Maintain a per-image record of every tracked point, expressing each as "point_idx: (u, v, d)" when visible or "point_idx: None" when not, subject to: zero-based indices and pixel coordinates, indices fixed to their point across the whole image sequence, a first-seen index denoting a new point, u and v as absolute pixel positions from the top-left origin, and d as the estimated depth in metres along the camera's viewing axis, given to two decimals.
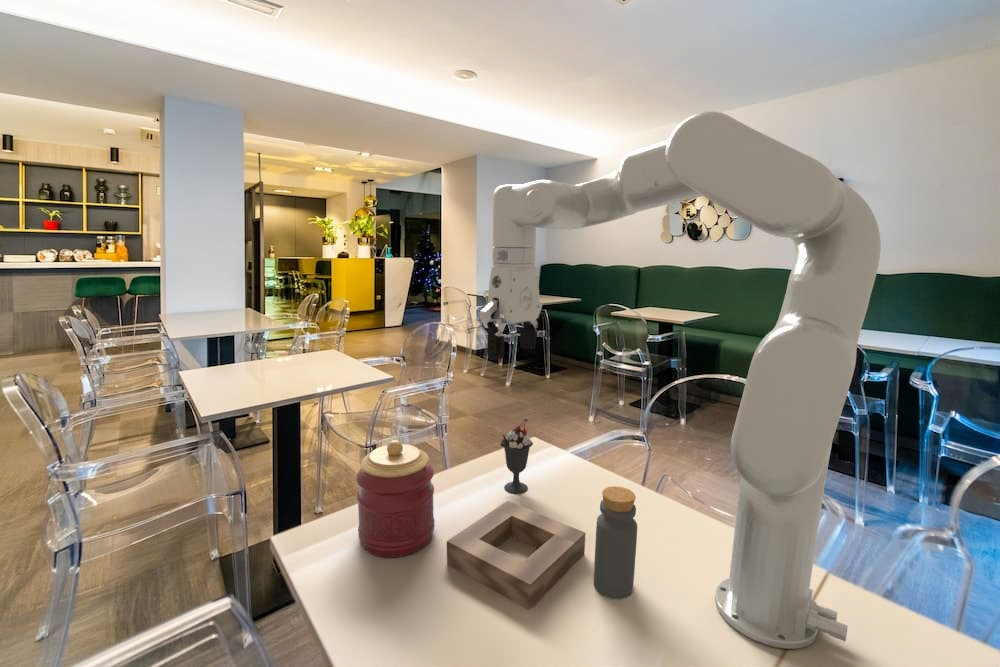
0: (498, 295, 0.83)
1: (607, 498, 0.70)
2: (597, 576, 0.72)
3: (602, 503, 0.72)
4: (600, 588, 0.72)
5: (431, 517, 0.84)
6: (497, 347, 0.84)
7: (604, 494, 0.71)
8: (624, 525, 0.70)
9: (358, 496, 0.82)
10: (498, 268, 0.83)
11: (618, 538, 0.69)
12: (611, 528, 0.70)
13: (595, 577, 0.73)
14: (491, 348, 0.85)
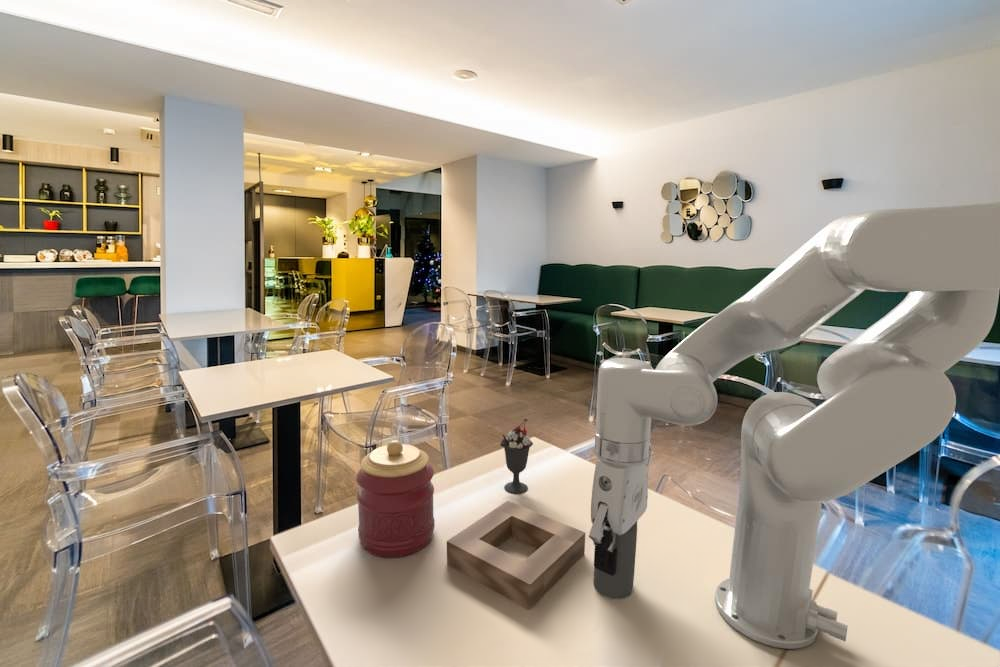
0: (606, 504, 0.67)
1: None
2: (596, 576, 0.72)
3: None
4: (600, 588, 0.72)
5: (431, 517, 0.84)
6: (609, 562, 0.69)
7: None
8: None
9: (358, 496, 0.82)
10: (607, 467, 0.67)
11: (617, 538, 0.69)
12: None
13: (595, 577, 0.73)
14: (601, 562, 0.69)
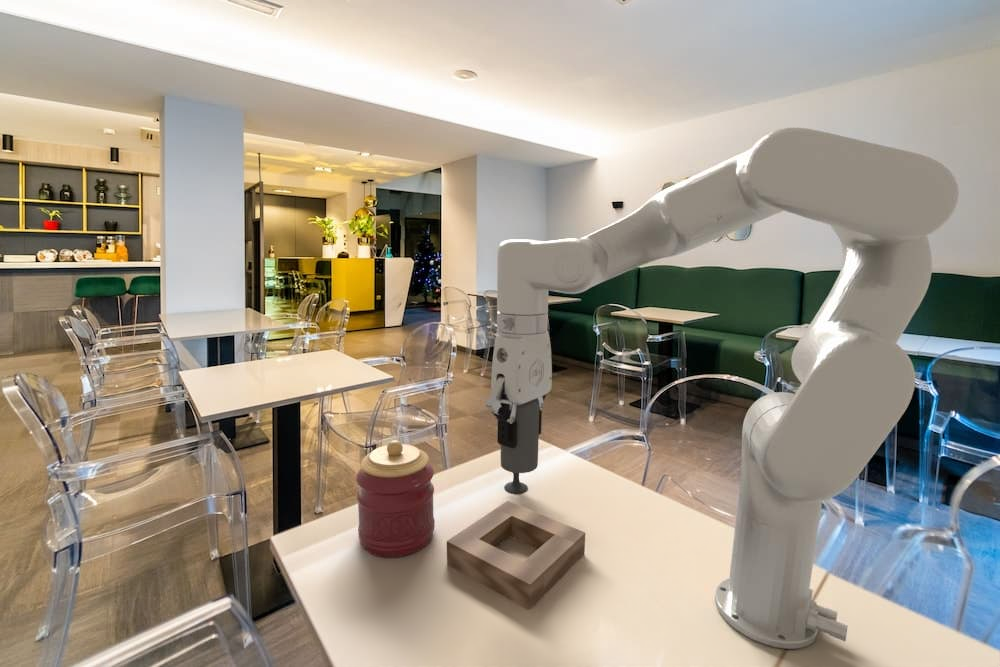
0: (503, 375, 0.69)
1: None
2: (501, 453, 0.75)
3: None
4: (504, 464, 0.75)
5: (431, 517, 0.84)
6: (509, 435, 0.72)
7: None
8: None
9: (358, 496, 0.82)
10: (504, 339, 0.70)
11: (517, 411, 0.72)
12: None
13: (501, 455, 0.76)
14: (502, 436, 0.72)
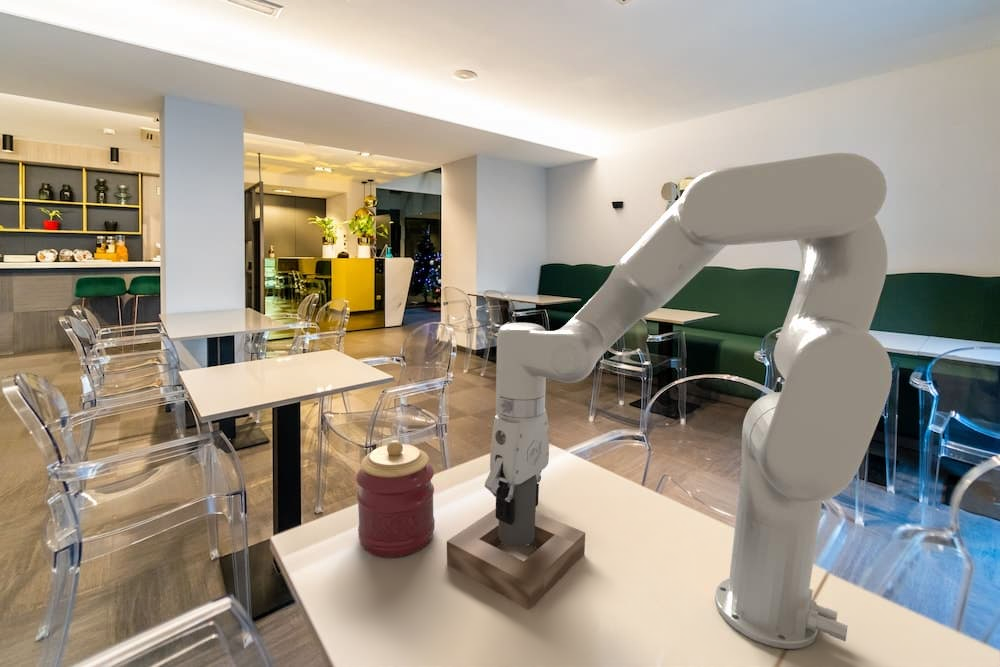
0: (501, 457, 0.72)
1: None
2: (499, 526, 0.78)
3: None
4: (502, 538, 0.77)
5: (431, 517, 0.84)
6: (507, 512, 0.74)
7: None
8: None
9: (358, 496, 0.82)
10: (502, 422, 0.72)
11: (515, 489, 0.74)
12: None
13: (499, 528, 0.78)
14: (500, 512, 0.75)
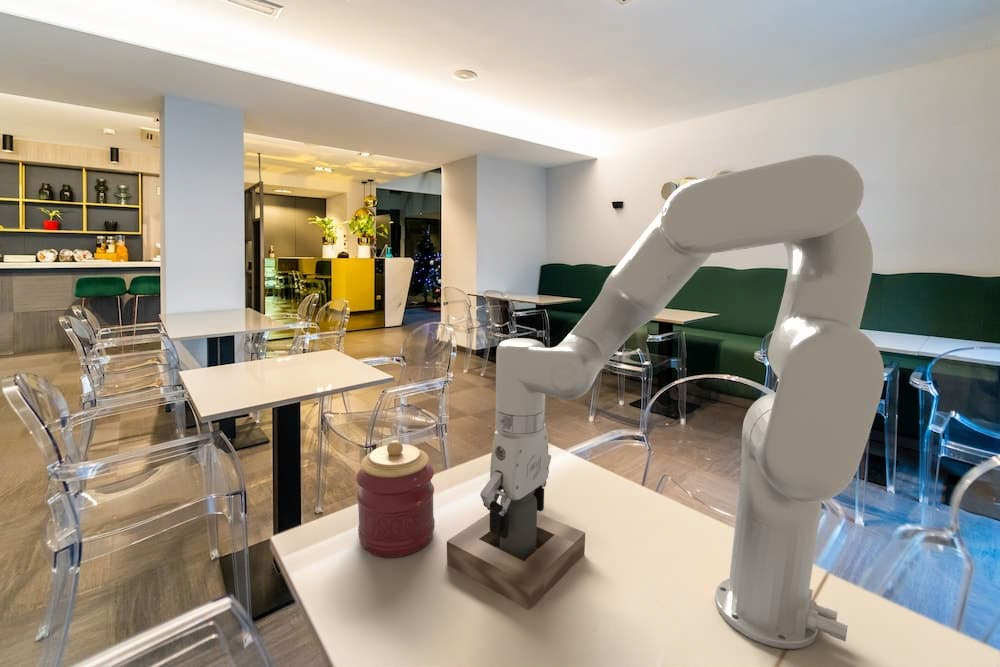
0: (502, 469, 0.72)
1: None
2: None
3: None
4: None
5: (431, 517, 0.84)
6: (501, 526, 0.73)
7: None
8: (523, 502, 0.76)
9: (358, 496, 0.82)
10: (502, 438, 0.72)
11: (516, 514, 0.75)
12: (510, 505, 0.75)
13: None
14: (494, 526, 0.74)
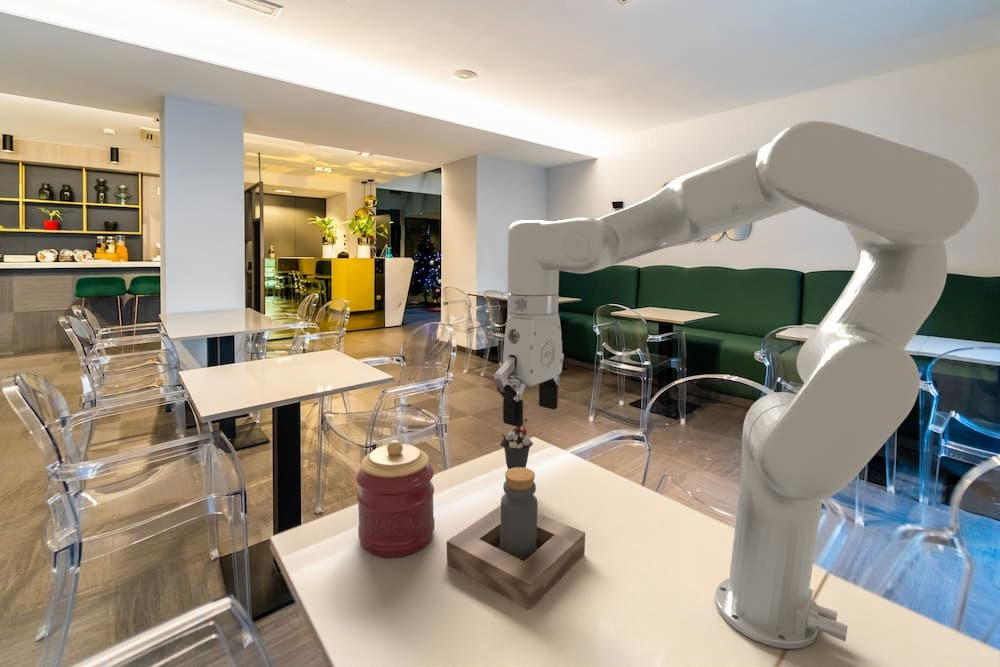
0: (516, 352, 0.70)
1: (508, 477, 0.76)
2: (501, 549, 0.78)
3: (505, 482, 0.78)
4: None
5: (431, 517, 0.84)
6: (515, 413, 0.71)
7: (506, 474, 0.77)
8: (523, 502, 0.76)
9: (358, 496, 0.82)
10: (515, 320, 0.70)
11: (516, 514, 0.75)
12: (511, 505, 0.75)
13: None
14: (508, 414, 0.71)
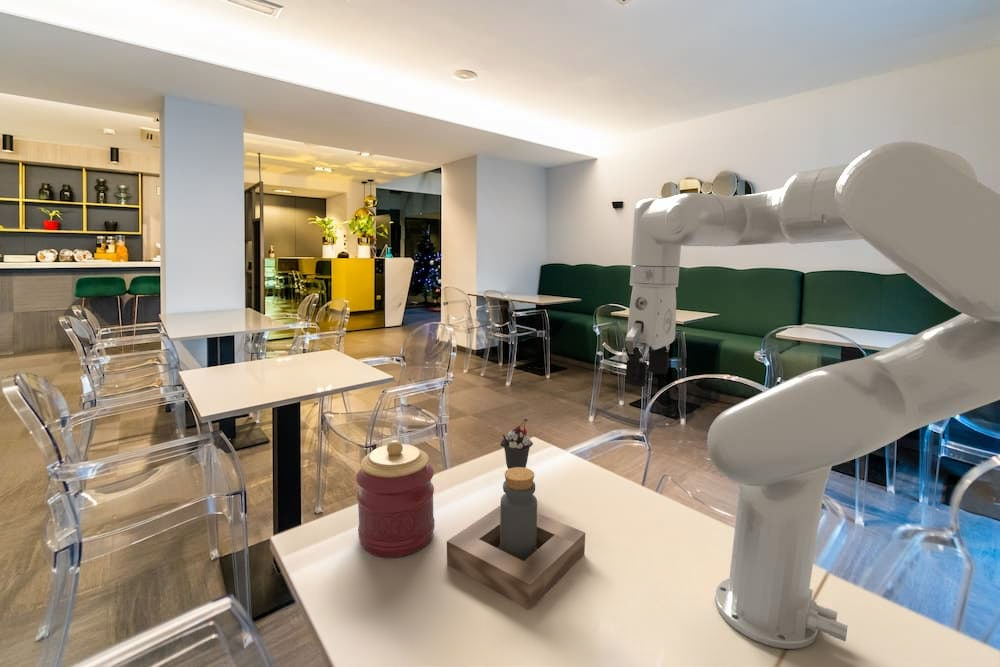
0: (643, 318, 0.77)
1: (507, 477, 0.76)
2: (501, 549, 0.78)
3: (505, 482, 0.78)
4: None
5: (431, 517, 0.84)
6: (639, 374, 0.78)
7: (506, 474, 0.77)
8: (523, 501, 0.76)
9: (358, 496, 0.82)
10: (642, 289, 0.77)
11: (516, 513, 0.75)
12: (510, 504, 0.76)
13: None
14: (632, 375, 0.78)
